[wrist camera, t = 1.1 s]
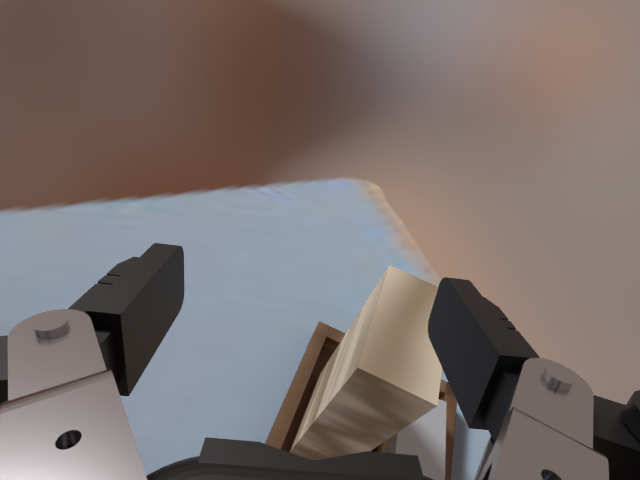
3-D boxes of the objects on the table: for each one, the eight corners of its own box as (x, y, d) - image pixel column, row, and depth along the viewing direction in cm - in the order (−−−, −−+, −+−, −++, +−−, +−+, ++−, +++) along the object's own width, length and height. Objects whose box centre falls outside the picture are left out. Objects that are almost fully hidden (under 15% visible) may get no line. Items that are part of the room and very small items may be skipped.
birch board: (288, 454, 30) (357, 367, 17) (317, 377, 35) (389, 264, 22) (332, 476, 29) (437, 406, 16) (355, 396, 34) (451, 293, 21)
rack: (237, 506, 27) (241, 501, 25) (312, 335, 39) (319, 321, 36) (419, 602, 26) (439, 605, 24) (443, 397, 37) (458, 387, 35)
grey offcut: (380, 485, 28) (392, 479, 26) (392, 394, 33) (403, 385, 31) (429, 504, 28) (444, 500, 26) (433, 410, 33) (446, 401, 31)
